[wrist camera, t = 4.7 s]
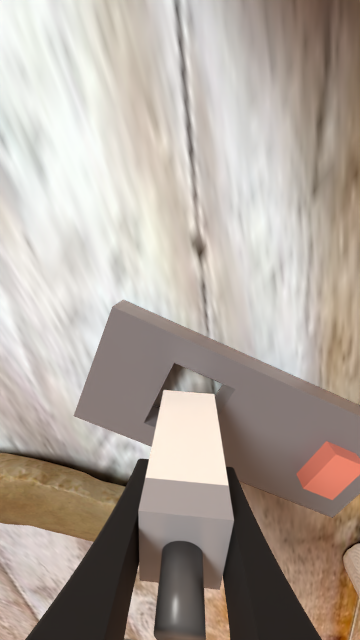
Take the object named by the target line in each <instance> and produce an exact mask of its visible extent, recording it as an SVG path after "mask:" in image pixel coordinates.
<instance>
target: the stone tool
mask: <svg viewBox="0 0 360 640" xmlns="http://www.w3.org/2000/svg"><path fill="white" fill-rule="evenodd" d="M124 489H125V486H121V485H117V484H113V483H108V482H104V481H101V480H98V479H96V478H94V477H92V476H90V475H88V474H86V473H84V472H81V471H77V470H74V469H71V468H67V467H64V466H60V465H57V464H53V463H49V462H45V461H42V460H37V459H33V458H28V457H22V456H18V455H13V454H7V453H0V523H4V524H14V525H30V526H34V527H38V528H41V529H45V530H49V531H53V532H57V533H62V534H66V535H70V536H73V537H77V538H81V539H85V540H88V541H93V542H94V541H95V539H96V538H97V536H98V534H99V533H100V531H101V530H102V528H103V526H104V525H105V523H106V521H107V520H108V518H109V516H110V515H111V513H112V511H113V509H114V507H115V506H116V504H117V502H118V500H119V498H120V497H121V495H122V493H123V491H124Z"/></svg>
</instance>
